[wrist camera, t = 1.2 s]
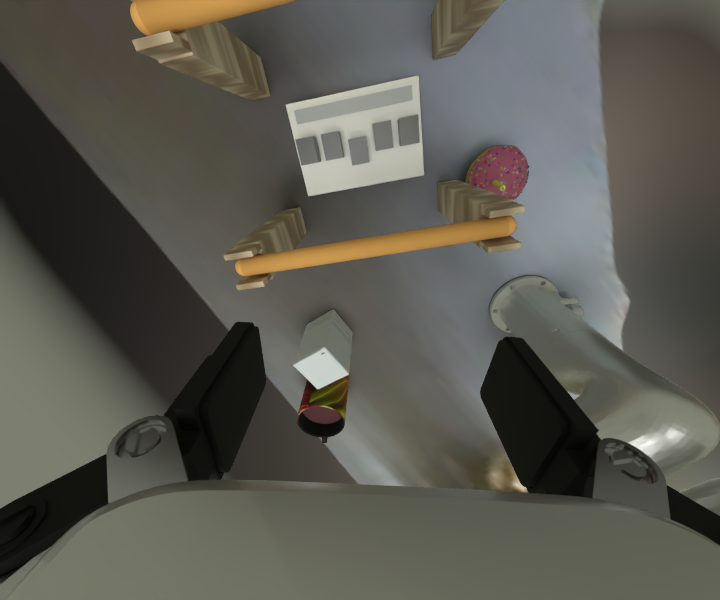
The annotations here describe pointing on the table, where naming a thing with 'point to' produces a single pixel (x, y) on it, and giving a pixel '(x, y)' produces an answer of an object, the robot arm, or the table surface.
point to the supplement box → (325, 350)
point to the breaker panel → (359, 136)
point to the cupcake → (499, 171)
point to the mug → (323, 409)
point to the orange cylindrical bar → (378, 245)
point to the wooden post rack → (247, 79)
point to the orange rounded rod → (191, 12)
